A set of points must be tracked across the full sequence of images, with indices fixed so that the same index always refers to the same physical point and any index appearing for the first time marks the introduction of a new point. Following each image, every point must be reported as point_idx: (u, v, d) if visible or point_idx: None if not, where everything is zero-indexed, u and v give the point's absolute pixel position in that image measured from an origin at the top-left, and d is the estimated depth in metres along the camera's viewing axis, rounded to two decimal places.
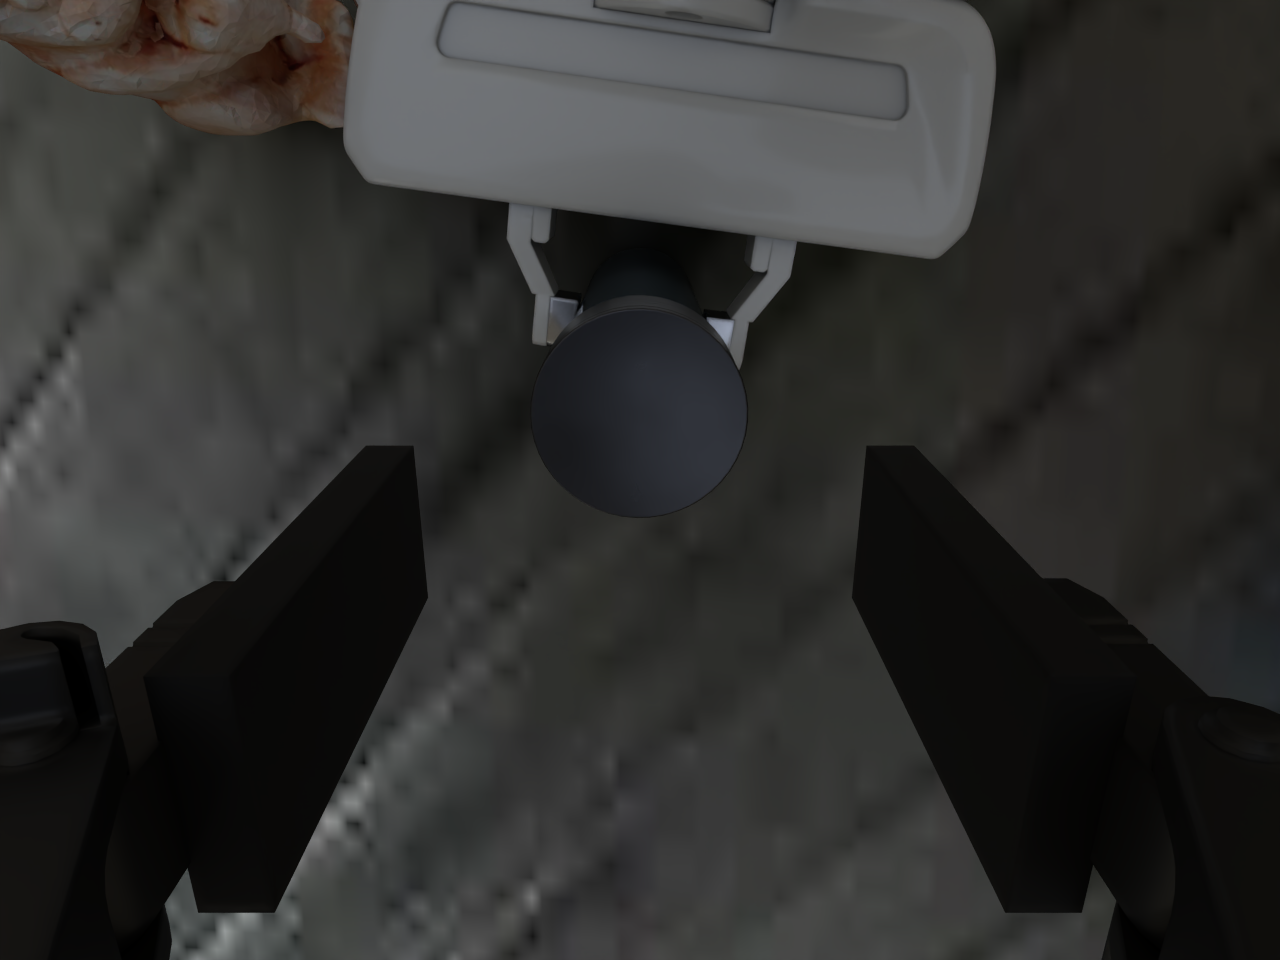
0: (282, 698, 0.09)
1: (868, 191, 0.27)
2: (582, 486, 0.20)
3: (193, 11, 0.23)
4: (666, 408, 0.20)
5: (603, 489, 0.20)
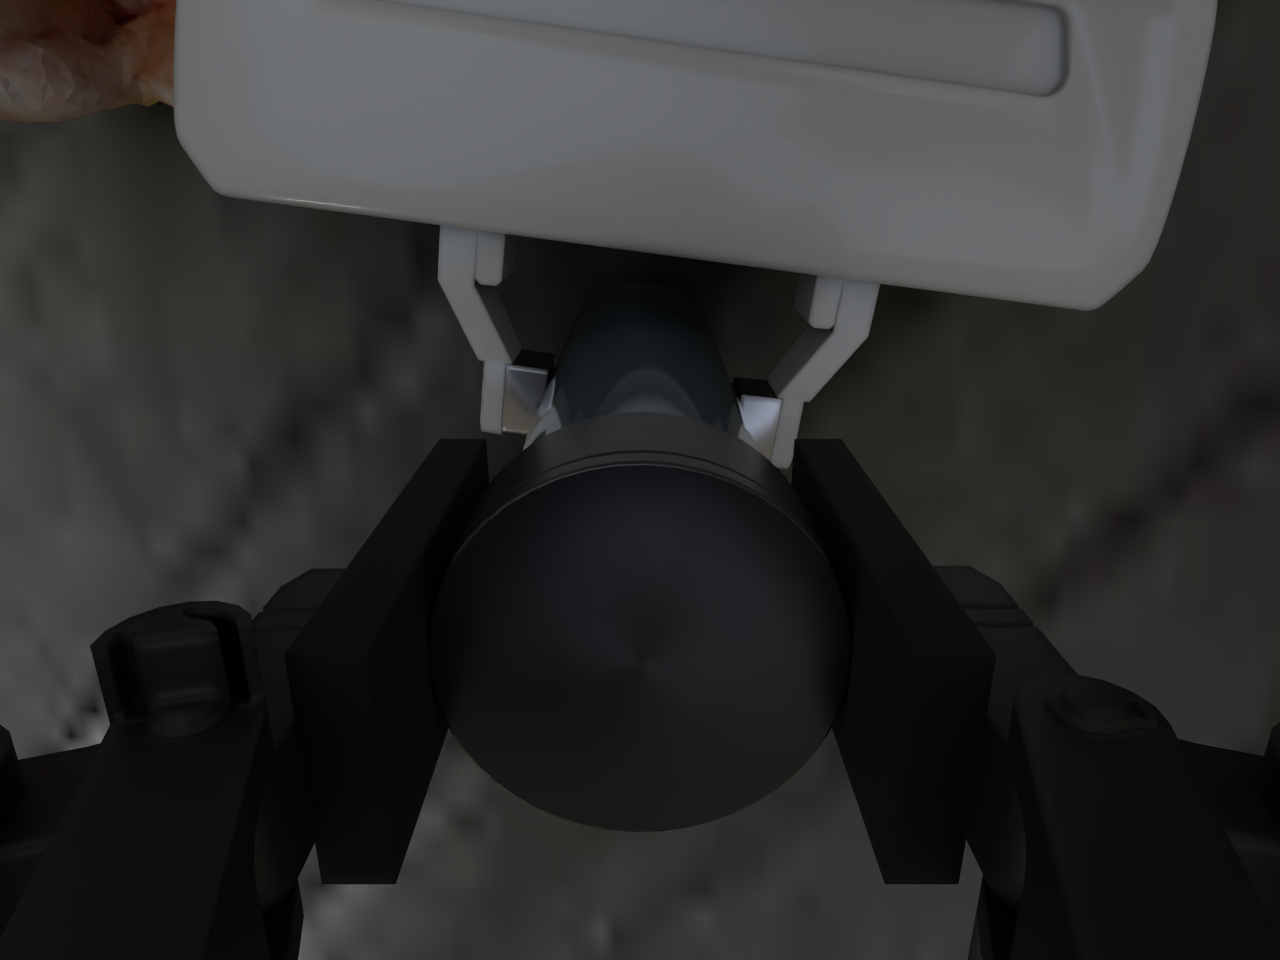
0: (401, 678, 0.09)
1: (998, 208, 0.17)
2: (531, 780, 0.11)
3: None
4: (693, 646, 0.10)
5: (572, 785, 0.11)
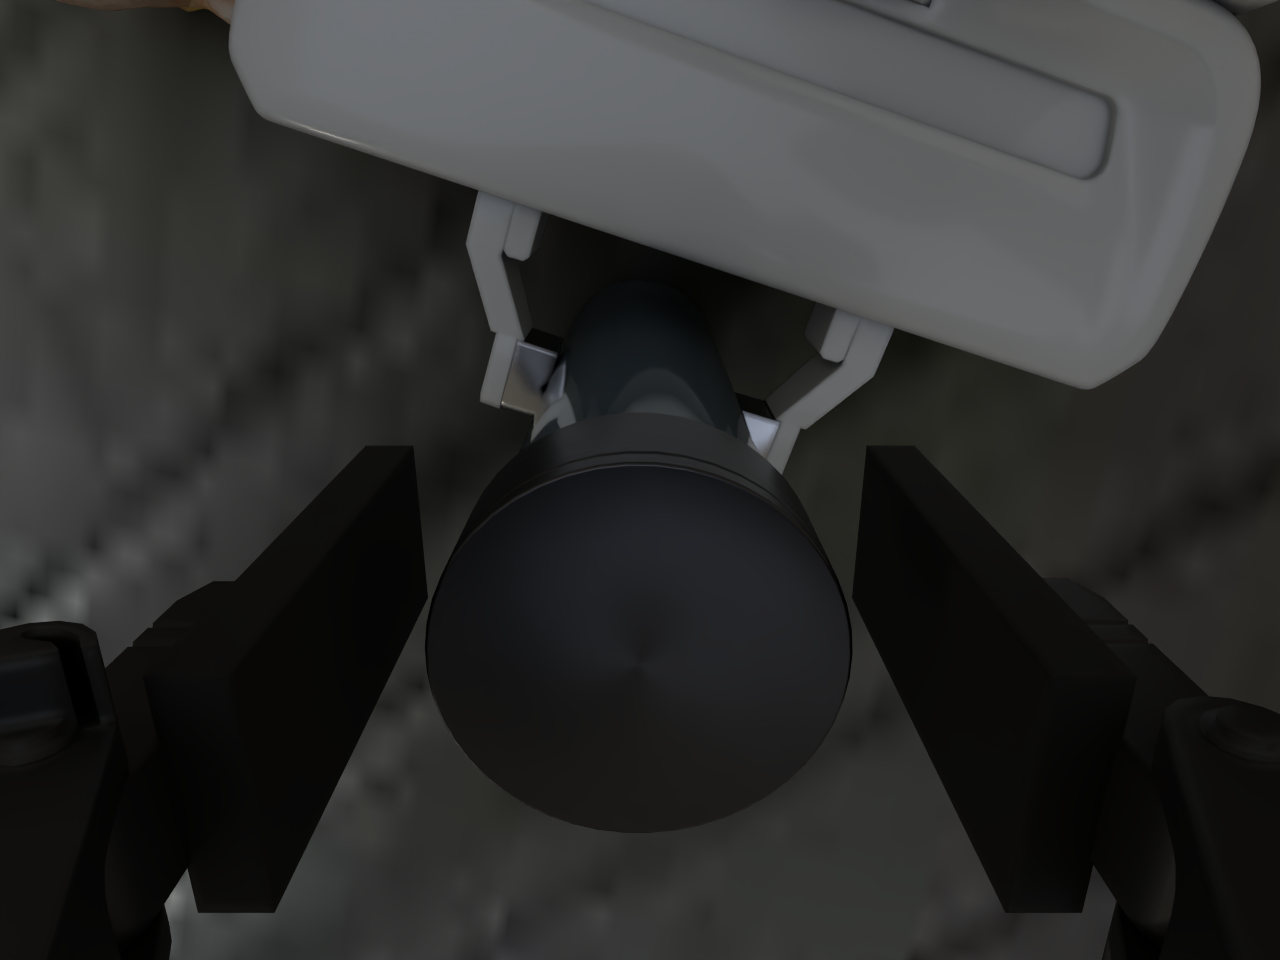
0: (282, 698, 0.09)
1: (1020, 276, 0.18)
2: (714, 798, 0.11)
3: None
4: (644, 614, 0.10)
5: (738, 770, 0.11)
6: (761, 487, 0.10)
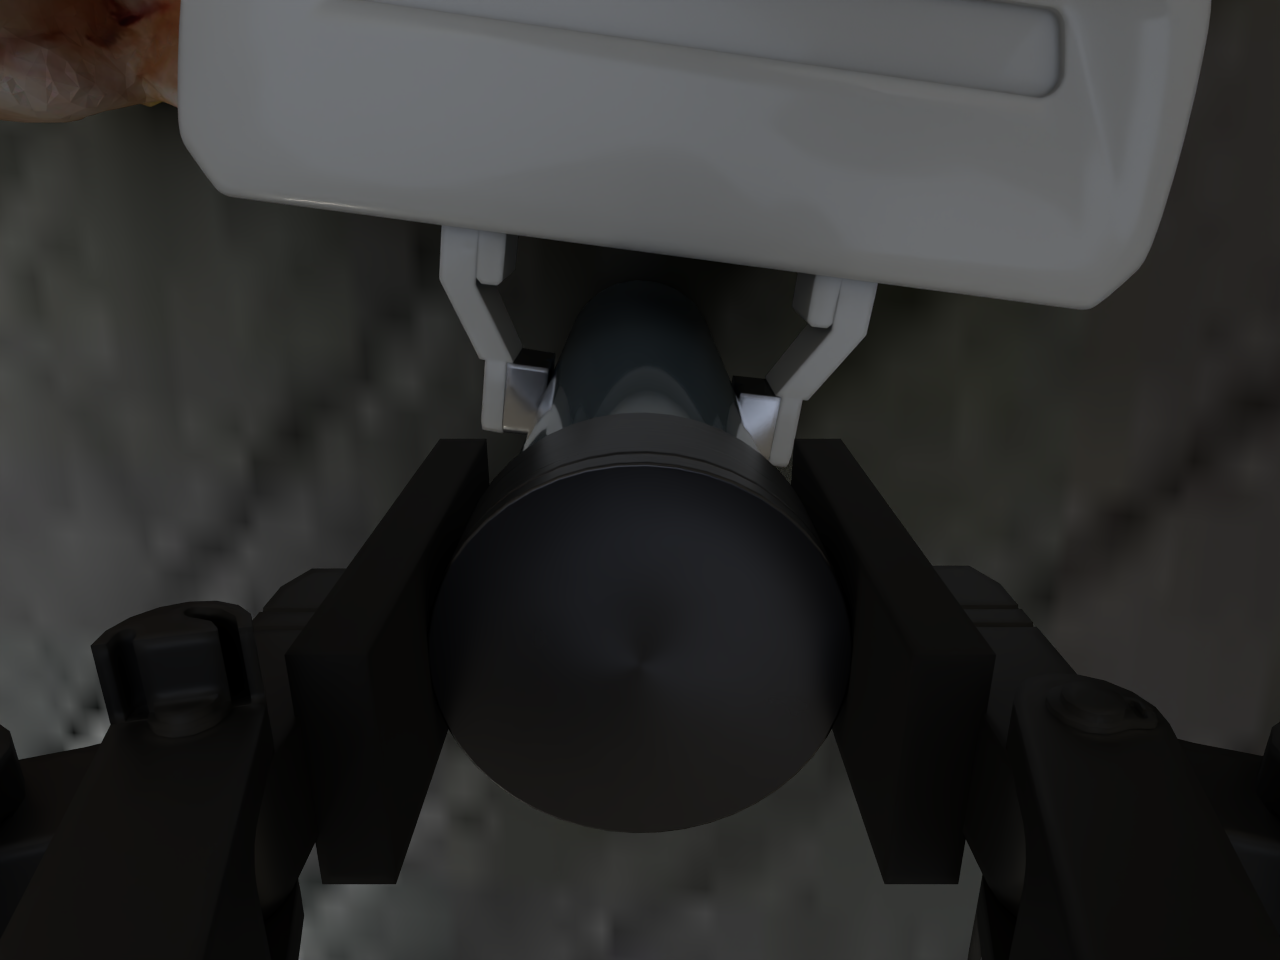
0: (400, 677, 0.09)
1: (995, 207, 0.17)
2: (743, 784, 0.11)
3: None
4: (635, 614, 0.10)
5: (761, 753, 0.11)
6: (728, 469, 0.10)
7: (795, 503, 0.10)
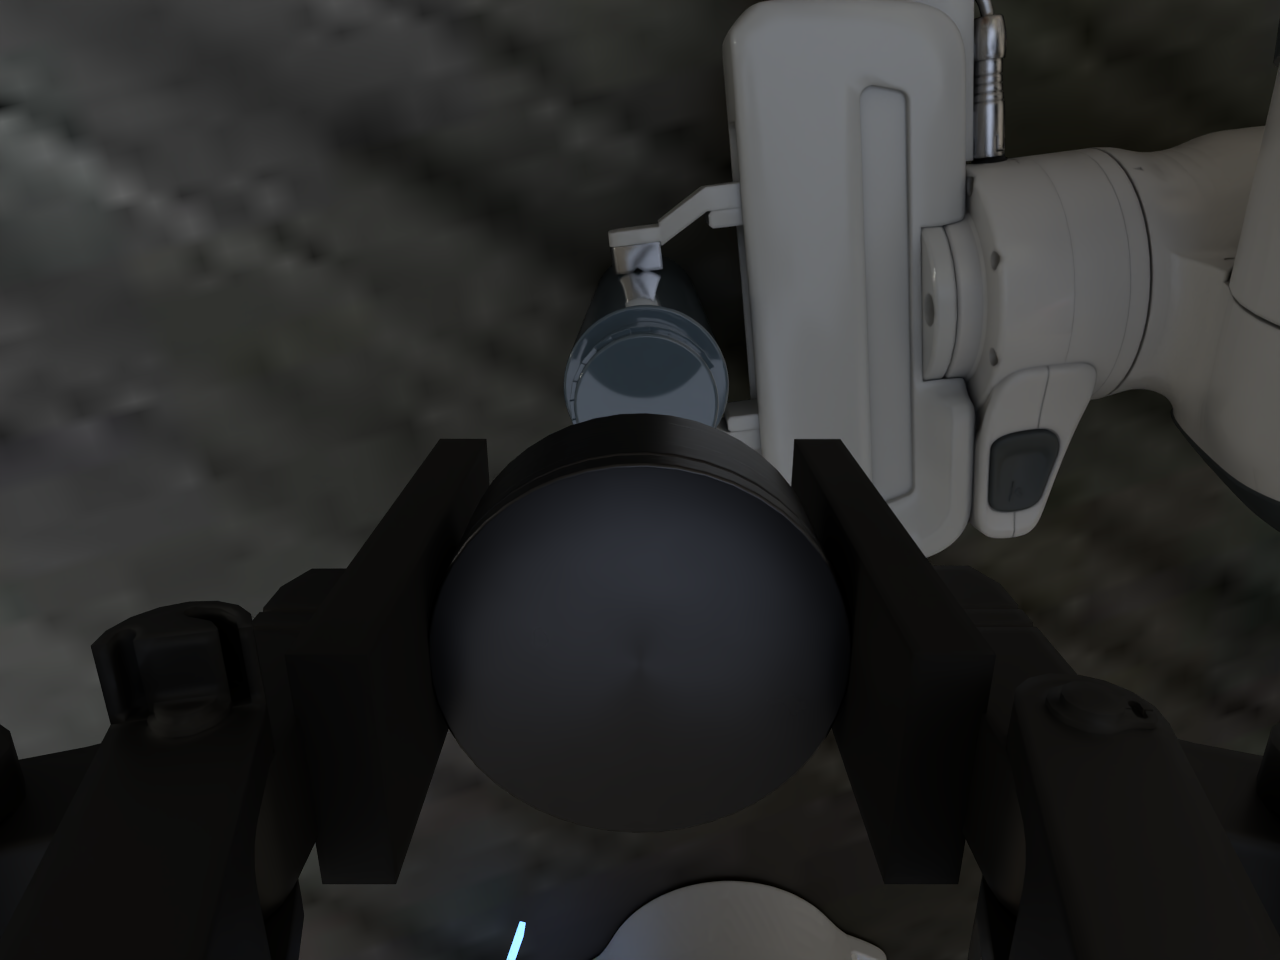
0: (401, 677, 0.09)
1: None
2: (742, 784, 0.11)
3: None
4: (635, 614, 0.10)
5: (760, 753, 0.11)
6: (728, 470, 0.10)
7: (795, 504, 0.11)
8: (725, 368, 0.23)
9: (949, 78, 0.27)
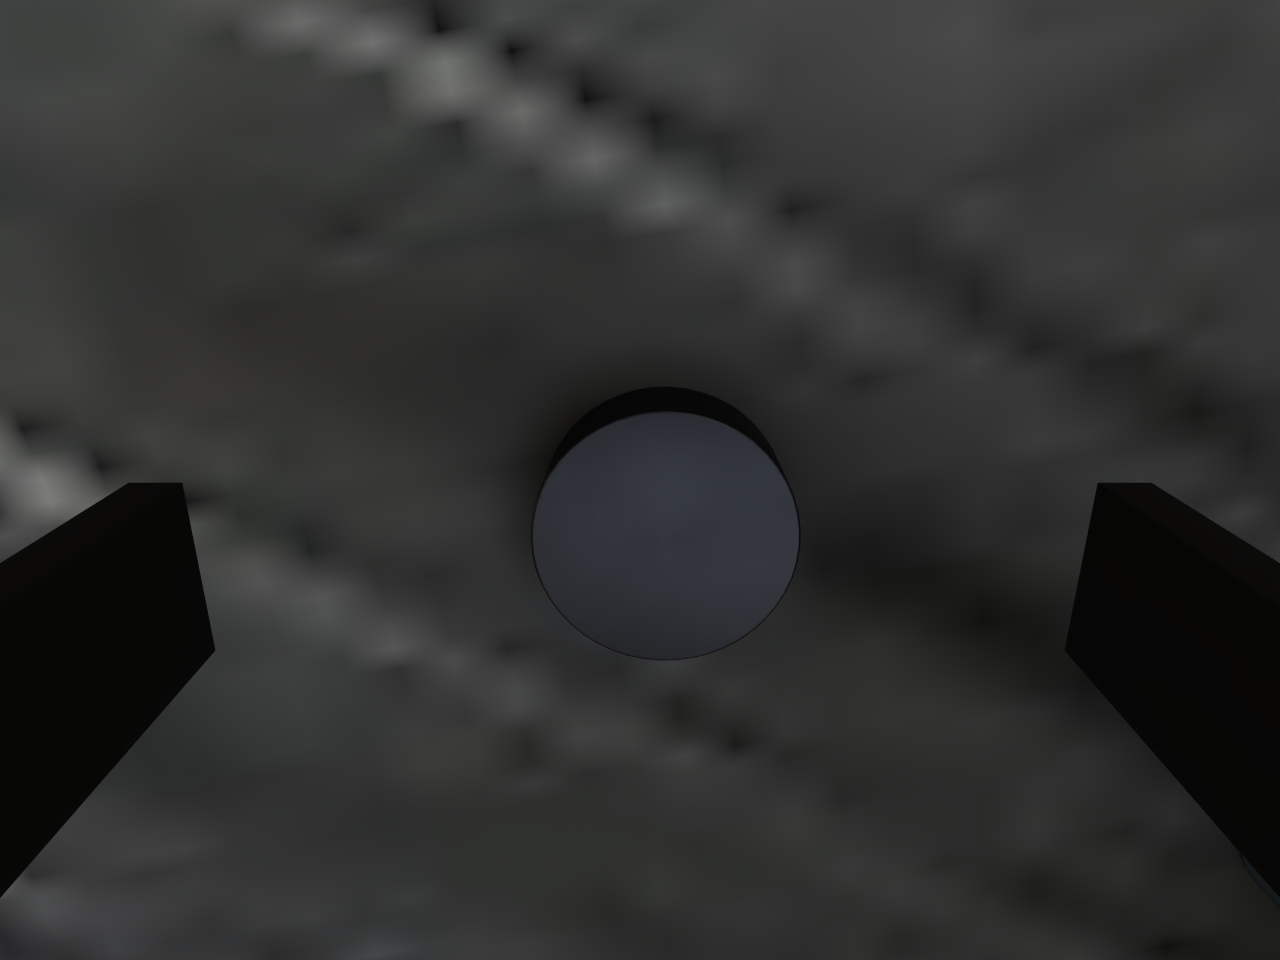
0: None
1: None
2: (731, 626, 0.17)
3: None
4: (662, 508, 0.16)
5: (742, 604, 0.16)
6: (721, 417, 0.16)
7: (764, 443, 0.16)
8: None
9: None
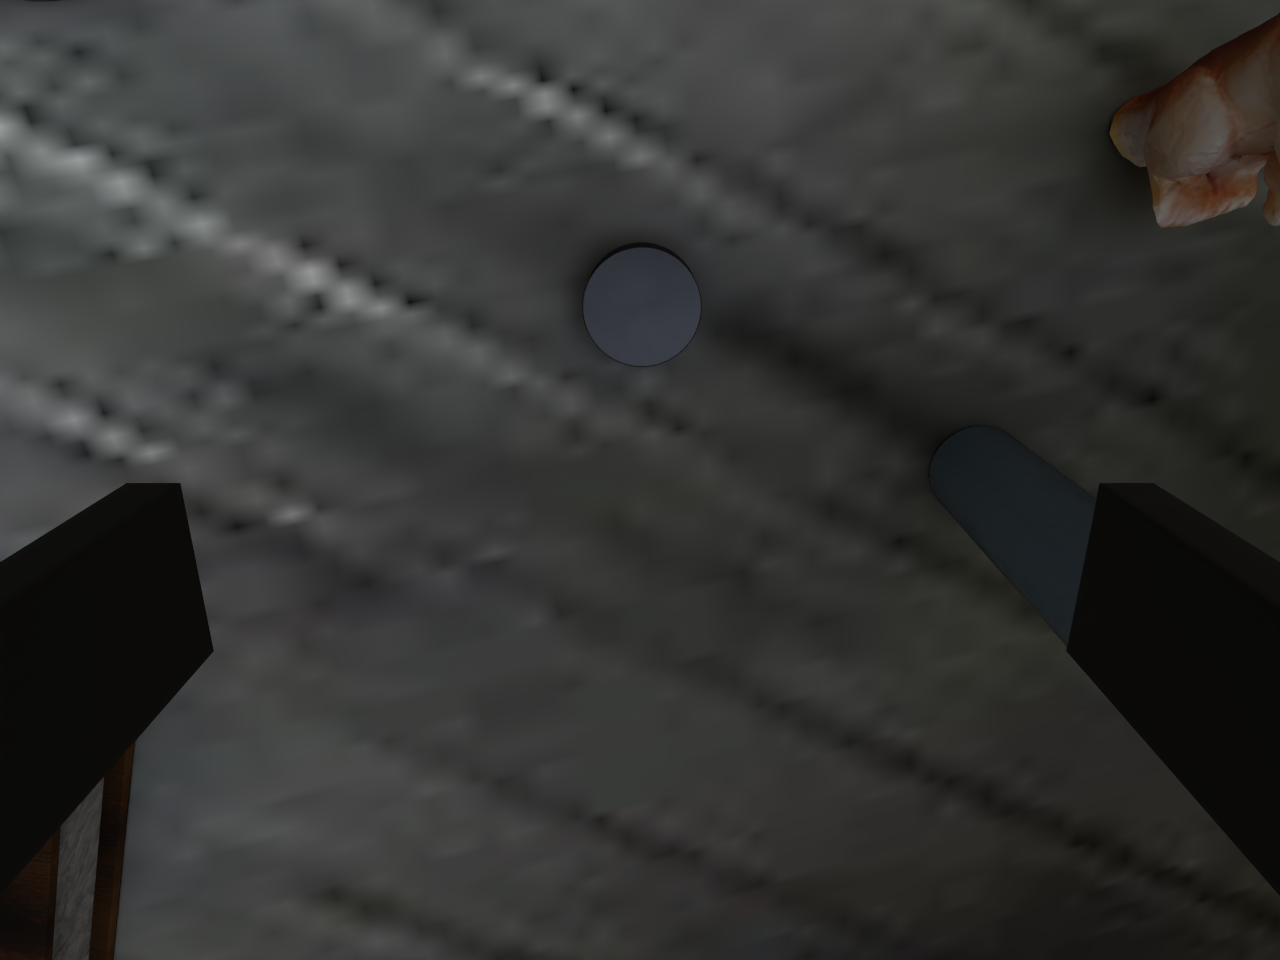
0: None
1: None
2: (671, 349, 0.37)
3: None
4: (640, 292, 0.36)
5: (676, 338, 0.37)
6: (665, 251, 0.36)
7: (686, 265, 0.37)
8: None
9: None
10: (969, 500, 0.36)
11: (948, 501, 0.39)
